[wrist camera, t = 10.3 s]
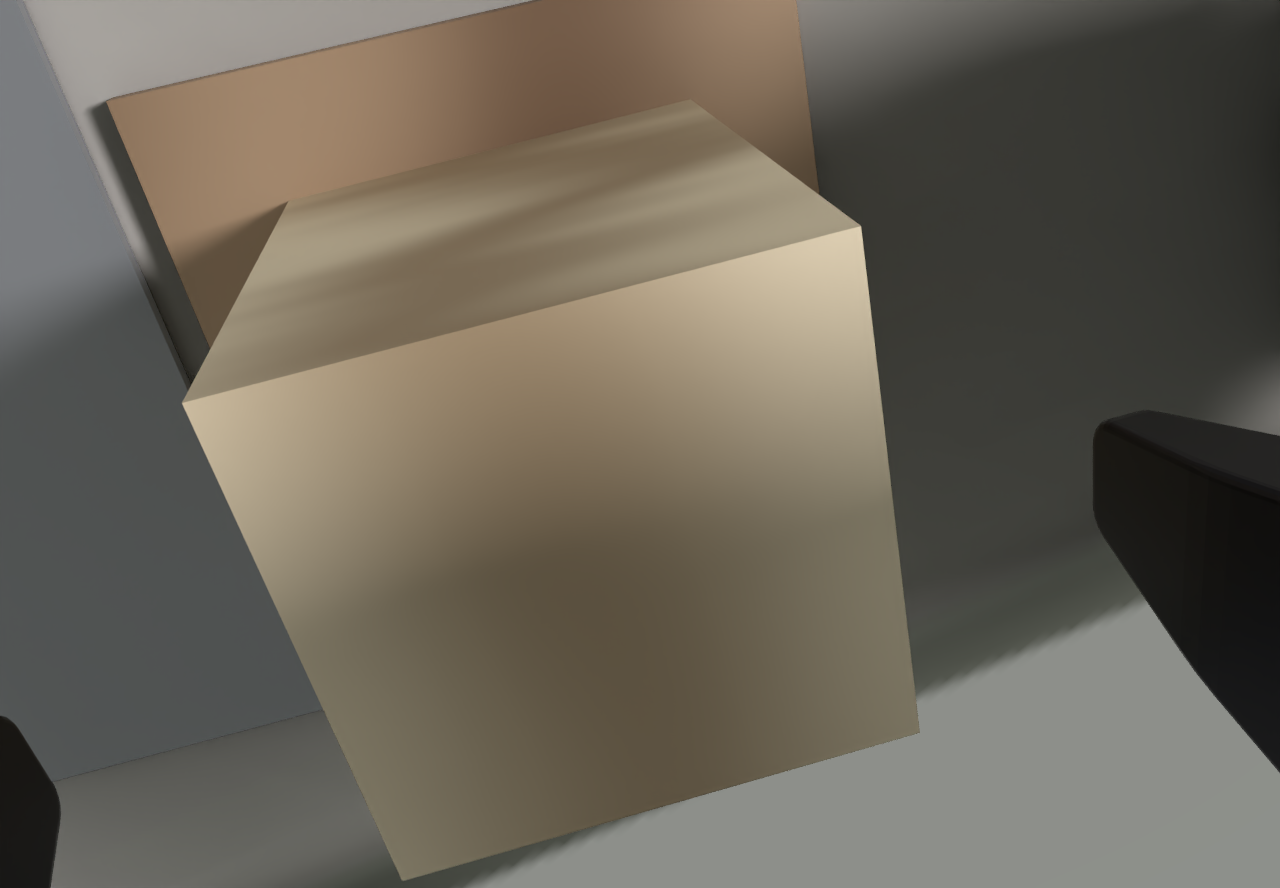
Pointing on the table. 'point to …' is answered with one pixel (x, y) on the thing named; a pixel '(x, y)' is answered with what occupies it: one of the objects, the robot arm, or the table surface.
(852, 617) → the birch block
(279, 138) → the pad
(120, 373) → the tile
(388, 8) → the table surface
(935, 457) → the table surface
